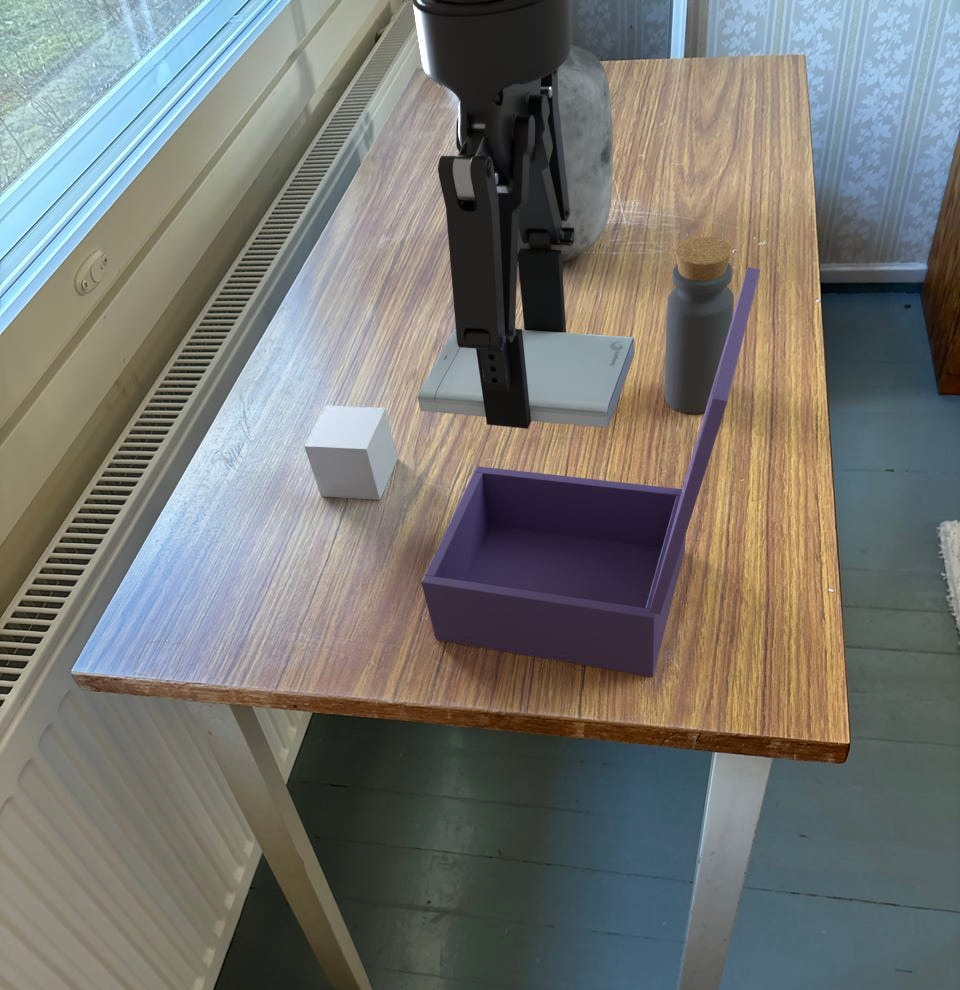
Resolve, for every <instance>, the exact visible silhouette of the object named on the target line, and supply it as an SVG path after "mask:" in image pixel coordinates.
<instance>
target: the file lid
mask: <svg viewBox="0 0 960 990" xmlns="http://www.w3.org/2000/svg"><path fill="white" fill-rule="evenodd" d="M760 273H761V269H760V268H755V267H749V266H748V267H747V268H746V270H745V274H744V278H743V282H742V285H741V287H740V291H739V295H738V298H737V301H736V305H735V309H734V311H733V318H732V322H731V325H730V329H729V332H728V335H727V339H726V342H725V346H724V349H723V352H722V356H721V359H720V363H719V366H718V369H717V373H716V376H715V380H714V383H713V386H712V390H711V393H710V397H709V400H708V403H707V407H706V410H705V412H704V413H703V417H702V420H701V424H700V427H699V431H698V434H697V438H696V441H695V445H694V448H693V452H692V455H691V458H690V462H689V465H688V469H687V472H686V476H685V479H684V482H683V486H682V488H681V489H682V493H681V496H680V500H679V504H678V507H677V511H676V515H675V519H674V522H673V526H672V530H671V533H670V537H669V541H668V544H667V548H666V552H665V555H664V559H663V563H662V566H661V570H660V574H659V577H658V581H657V585H656V589H655V592H654V596H653V600H652V603H651V607H650V612H652V613H655V614H659V615H660V614H661V611H662V608H663V605H664V602H665V599H666V596H667V592H668V589H669V586H670V583H671V580H672V576H673V573H674V570H675V567H676V564H677V561H678V557H679V554H680V551H681V548H682V545H683V541H684V538H685V535H686V536H687V532H688V529H689V525H690V522H691V520H692V516H693V513H694V509H695V506H696V503H697V500H698V497H699V493H700V490H701V488H702V484H703V481H704V478H705V474H706V472H707V468H708V465H709V461H710V458H711V456H712V452H713V450H714V449H713V448H714V446H715V442H716V440H717V437H718V433H719V430H720V427H721V423H722V420H723V418H724V414H725V411H726V408H727V405H728V401H729V396H730V394H731V390H732V386H733V381H734V377H735V373H736V369H737V365H738V361H739V357H740V353H741V349H742V344H743V340H744V336H745V333H746V328H747V325H748V321H749V316H750V313H751V309H752V304H753V301H754V298H755V297H754V296H755V293H756V289H757V285H758V280H759V276H760Z"/></svg>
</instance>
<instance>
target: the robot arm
mask: <svg viewBox="0 0 960 990" xmlns="http://www.w3.org/2000/svg"><path fill="white" fill-rule="evenodd" d="M412 6H413V12H414V19H415V26H416V32H417V39H418V45H419V52H420V60H421V65H422V69H423V71H424V73H425V75H426V76H427V77H428V78H429V79H430V81H432V82H433V83H435V84H436V85H439V86H442V87H445V88H447V89H448V90H450V91H451V92H452V93H453V94H454V95H455V96H456V97H457V99H458V117H457V119H456V124H455V125H456V126H455V127H456V129H455V145H456V149H457V151H458V154H457V155H441V156H440V157H439V159H438V166H437V172H438V173H437V174H438V178H439V183H440V188H441V193H442V197H443V201H444V202H443V203H444V206H445V212H446V213H445V214H446V225H447V226H446V227H447V238H448V239H447V240H448V251H449V252H448V253H449V263H450V275H451V286H452V298H453V312H454V322H455V324H454V325H455V328H456V338H457V344H458V347H460V348H473V349H476V352H477V359H478V366H479V373H480V380H481V387H482V394H483V401H484V408H485V415H486V417H485V422H486V425H487V426H494V427H495V426H496V427H505V428H506V427H507V428H515V429H529V427H530V425H531V423H532V421H531V415H530V405H529V395H528V385H527V375H526V364H525V354H524V344H523V334H522V330H531V331H547V332H562V333H567V323H566V321H567V320H566V304H565V289H564V273H563V272H564V271H563V270H564V269H563V262H562V252H561V250H556V245H558V246H572V245H573V243H574V236H575V230H574V228H571V227H563V226H562V222H561V221H565V222H566V221H567V220H568V217H569V216H570V207H569V198H568V188H567V179H566V169H565V160H564V151H563V141H562V132H561V122H560V113H559V103H558V68H559V67H560V66H561V65H562V64H563V63H564V62H565V60H566V59H567V57H568V55H569V53H570V50H571V45H572V20H571V19H572V18H571V0H412ZM497 187H506V188H507V192H508V193H497ZM518 230H519V233H520V236H521V240H522V243H523V244H529V246H530V249H522V248H520V250H519V252H518ZM517 258H518V262H517ZM518 278H519V288H520V296H521V297H520V298H521V309H522V317H523V318H522V319H523V329H522V328H516V320H517V319H516V316H517V314H516V313H517V283H518Z"/></svg>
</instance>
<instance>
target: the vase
mask: <svg viewBox="0 0 960 990" xmlns="http://www.w3.org/2000/svg"><path fill="white" fill-rule="evenodd" d="M609 83H610V82H609V80H608V76H607V72H606V70H605V67H604V65H603V64H602V62H601V61H600V60H599V58H598V57H597V56H595V55H594V54H592V53H591V52H590V51H589V50H587V49H585V48H582V47H579V46H576V45H572V44H571V50H570V53H569V55H568V57H567V59H566V60H565V62H564V63H563V64H562V65H561V66H560V67H559V68H558V103H559V113H560V122H561V132H562V141H563V151H564V160H565V169H566V179H567V188H568V198H569V207H570V216H569V217H568V220H567V221H566V222H565V221H561V222H562V226H563V227H571V228H574V230H575V236H574V243H573V245H572V246H558V245H556V250H561V252H562V263H563V262H567V261H569V260H571V259H574V258H576V257H578V256H580V255H582V254H584V253H585V252H587V251H589V249H591V248H592V247H593V246H594V245H595V244H596V243H598V241H599V239H600V238H601V237H602V236H603V233H604V232H605V230H606V227H607V225H608V221H609V217H610V212H611V206H612V205H611V204H612V193H613V171H614V159H613V158H614V135H613V134H614V133H613V132H614V131H613V113H612V101H611V100H612V99H611V91H610V85H609ZM497 193H508V192H507V188H506V187H497ZM520 248H522V249H530V246H529V244H523V243H522V240H521V236H520V233H519V230H518V252H519V250H520ZM517 263H518V258H517Z"/></svg>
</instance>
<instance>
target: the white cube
mask: <svg viewBox="0 0 960 990" xmlns="http://www.w3.org/2000/svg"><path fill="white" fill-rule="evenodd" d="M303 447H304V450H305V453H306V455H307V459H308V461H309V465H310V468H311V471H312V474H313V476H314V479H315V482H316V486H317V488H318V491H319V494H320V497H325V498H326V497H328V498H343V499H345V498H346V499H360V500H377V501H380V500H381V499H382V497H383V494H384V492H385V489H386V487H387V485H388V482H389V481H390V479H391V475H392V473H393V471H394V468H395V466H396V464H397V462H398V459H399V458H398V454H397V450H396V445H395V441H394V437H393V433H392V429H391V424H390V421H389V416H388V412H387V409H386V407H375V406H373V407H372V406H345V405H343V406H341V405H325V406H324V408H323V410H322V411H321V414H320V415H319V417H318V419H317V421H316V423H315V424H314V426H313V428H312V430H311V433H310V434H309V436H308V438H307V440H306V441H305V444H304V446H303Z"/></svg>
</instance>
